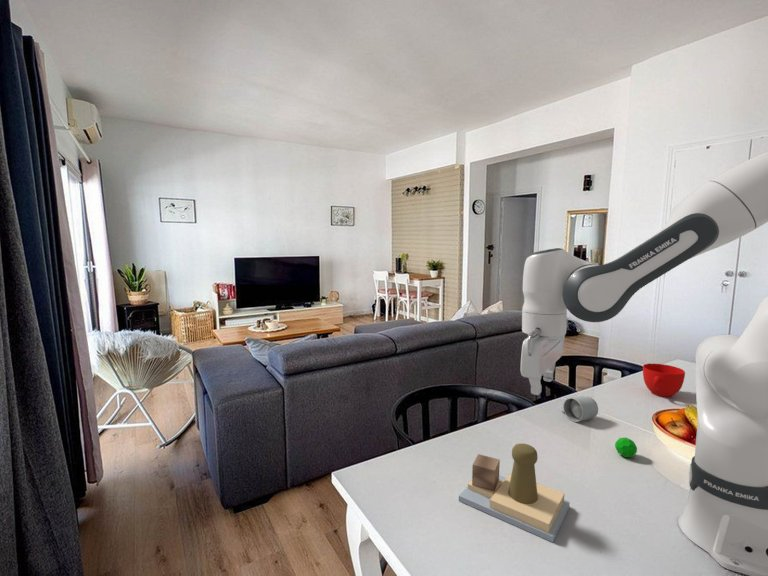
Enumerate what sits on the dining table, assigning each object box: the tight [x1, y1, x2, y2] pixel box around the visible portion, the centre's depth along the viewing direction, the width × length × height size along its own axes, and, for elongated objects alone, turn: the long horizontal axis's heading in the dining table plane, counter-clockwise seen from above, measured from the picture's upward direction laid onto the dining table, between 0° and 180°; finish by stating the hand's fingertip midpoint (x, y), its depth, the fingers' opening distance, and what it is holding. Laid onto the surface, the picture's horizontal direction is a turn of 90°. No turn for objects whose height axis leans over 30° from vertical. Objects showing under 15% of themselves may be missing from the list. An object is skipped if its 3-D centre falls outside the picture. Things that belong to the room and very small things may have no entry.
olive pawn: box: [508, 443, 538, 504], centre depth 83 cm, size 6×6×11 cm
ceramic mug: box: [561, 395, 599, 423], centre depth 128 cm, size 11×8×8 cm
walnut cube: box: [471, 453, 501, 492], centre depth 89 cm, size 5×5×5 cm
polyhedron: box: [614, 437, 638, 458], centre depth 105 cm, size 5×5×5 cm
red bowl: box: [642, 363, 686, 398], centre depth 146 cm, size 13×17×10 cm
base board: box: [458, 473, 570, 543], centre depth 86 cm, size 20×13×3 cm, turn 52°
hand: (542, 386), depth 85 cm, fingers open, 8 cm apart
